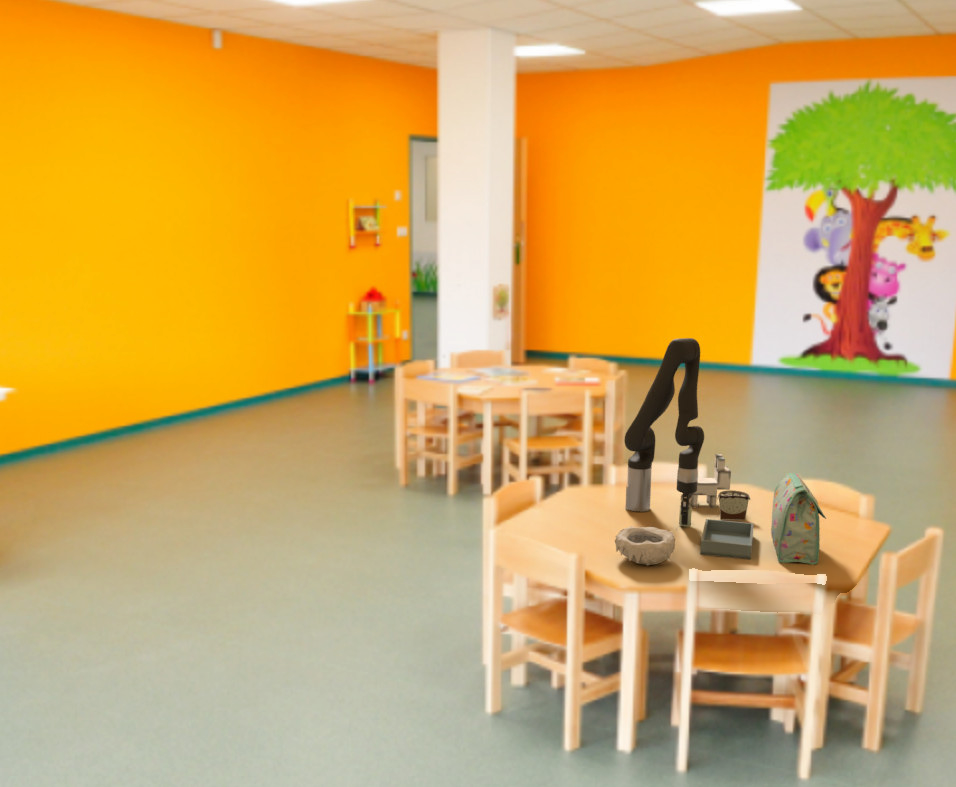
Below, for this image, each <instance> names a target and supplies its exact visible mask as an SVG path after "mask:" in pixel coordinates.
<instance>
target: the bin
mask: <svg viewBox="0 0 956 787" xmlns="http://www.w3.org/2000/svg"><path fill="white" fill-rule="evenodd" d="M753 539H754V523H753V522H745V521H744V522H742V521H741V522H740V521H735V520H724V519H712V518H711V519H710V518H705V522H704V526H703V530H702V535H701V538H700V549H699V551H700V553H699V554H700V555H705V556H711V557H713V556H714V557H723V558H730V559H731V558H732V559H733V558H734V559H741V560H743V559H744V560H752V550H753V549H752V548H753Z"/></svg>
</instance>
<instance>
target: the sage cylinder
mask: <svg viewBox="0 0 956 787" xmlns="http://www.w3.org/2000/svg"><path fill="white" fill-rule="evenodd" d="M688 506H689V505H688ZM692 508H693V507H692V506H690V509H689V511H688V513H689V515H688V523H687V525H682V524H681V520H682V515H681V504H680V505H679V513H678V514H679V517H678V519H679V520H678V525H679V526H682V527H690V526H691V525H692V513H693V512H692V510H693V509H692ZM683 512H686V510H683Z"/></svg>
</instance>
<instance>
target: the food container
mask: <svg viewBox="0 0 956 787" xmlns="http://www.w3.org/2000/svg"><path fill="white" fill-rule="evenodd" d="M717 500H718V501H719V502H718V503H719V520H724V521H746V517H747V513H748V512H747V511H748V507H749V506H748V505H749V501H751V497H750V494H749V493H747V492H745V491H741V490H731V489H730V490H723V491H720V492H719V493H718V494H717Z"/></svg>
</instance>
